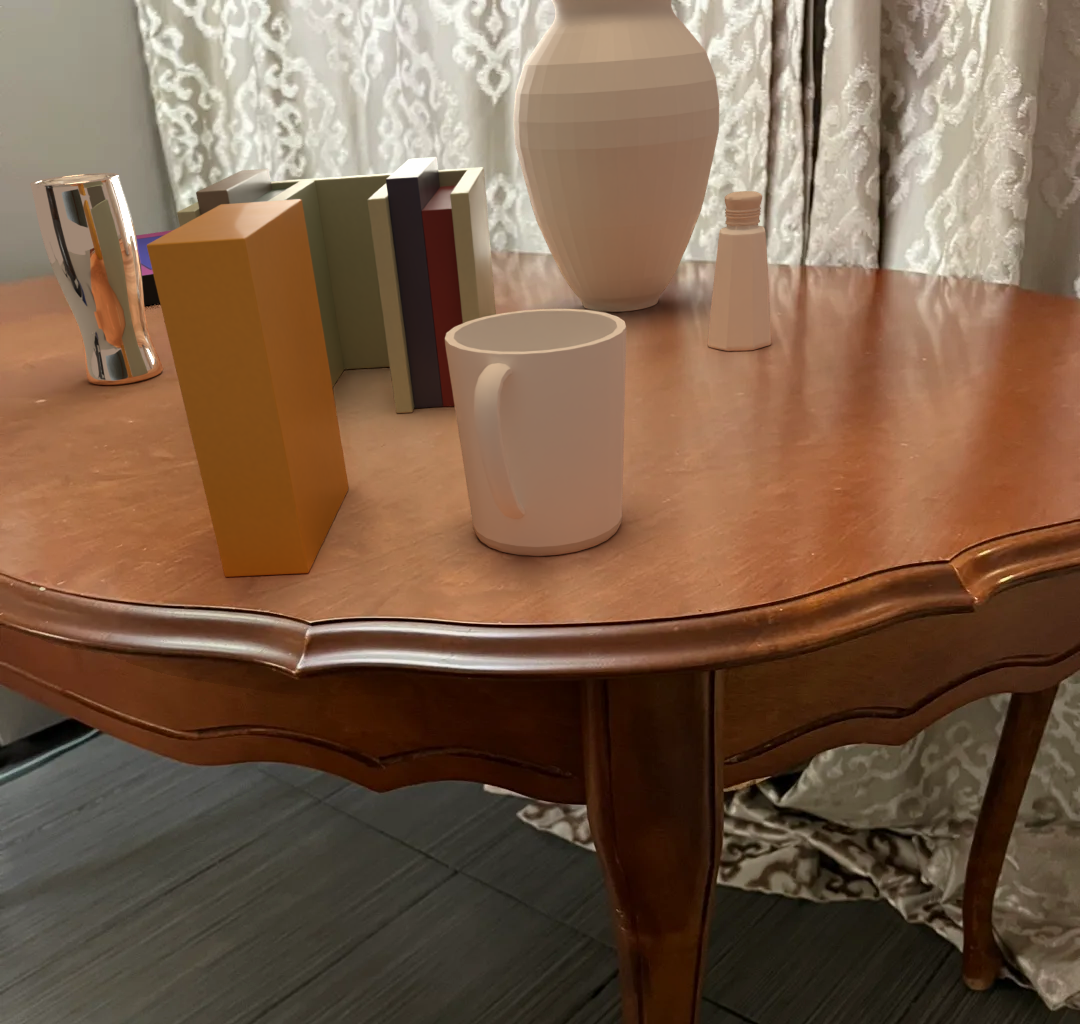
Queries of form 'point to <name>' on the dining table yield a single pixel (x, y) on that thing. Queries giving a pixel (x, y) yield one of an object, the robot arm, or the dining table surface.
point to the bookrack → (387, 265)
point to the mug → (541, 426)
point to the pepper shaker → (741, 279)
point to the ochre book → (254, 381)
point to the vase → (616, 145)
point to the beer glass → (98, 272)
